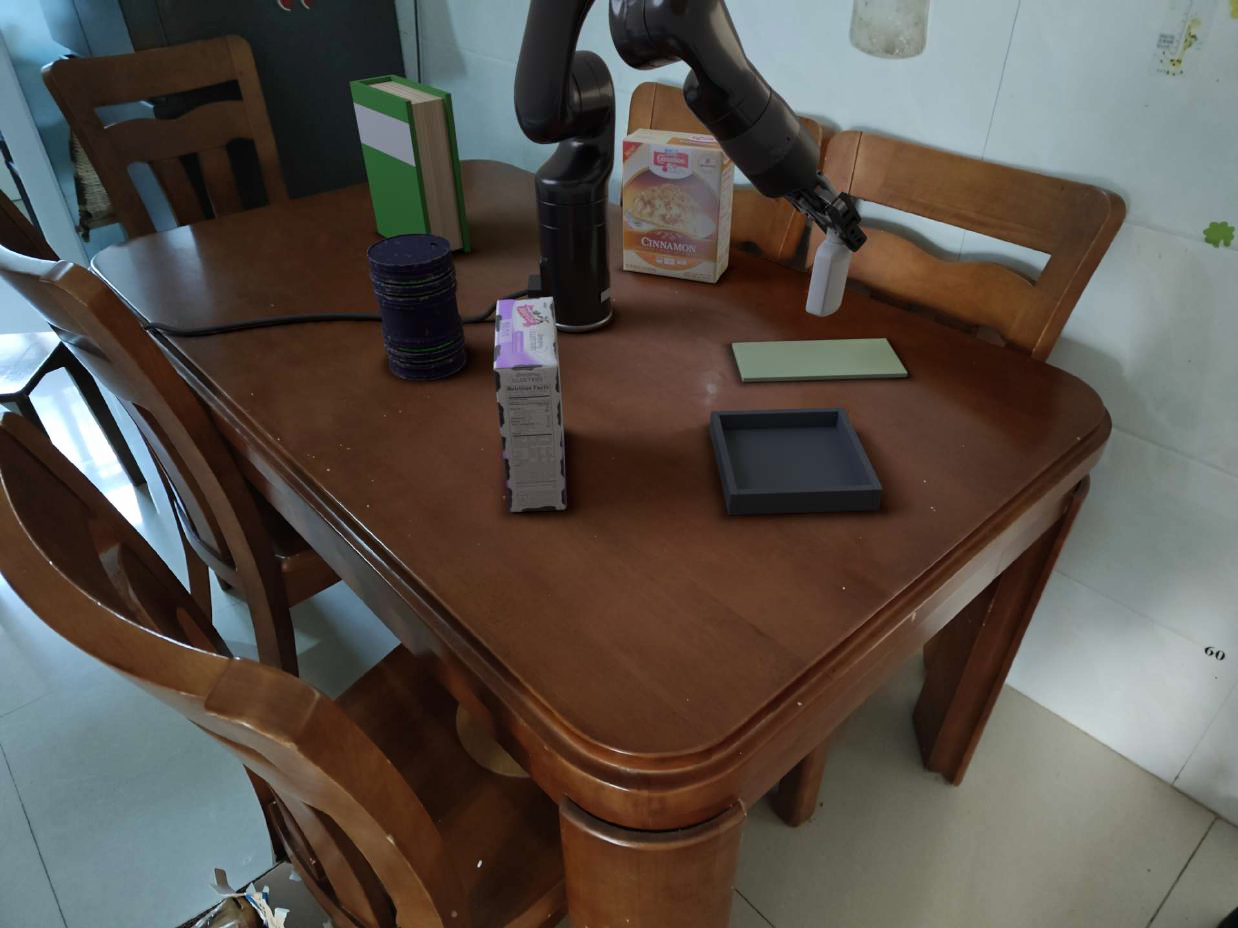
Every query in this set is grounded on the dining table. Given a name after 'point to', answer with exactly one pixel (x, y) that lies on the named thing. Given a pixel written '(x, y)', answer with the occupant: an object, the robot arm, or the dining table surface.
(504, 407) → the candy box
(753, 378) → the mat
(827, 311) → the eye dropper bottle
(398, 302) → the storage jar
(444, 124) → the hardback book
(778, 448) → the tray
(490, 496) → the dining table surface
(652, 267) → the coffeecake box
